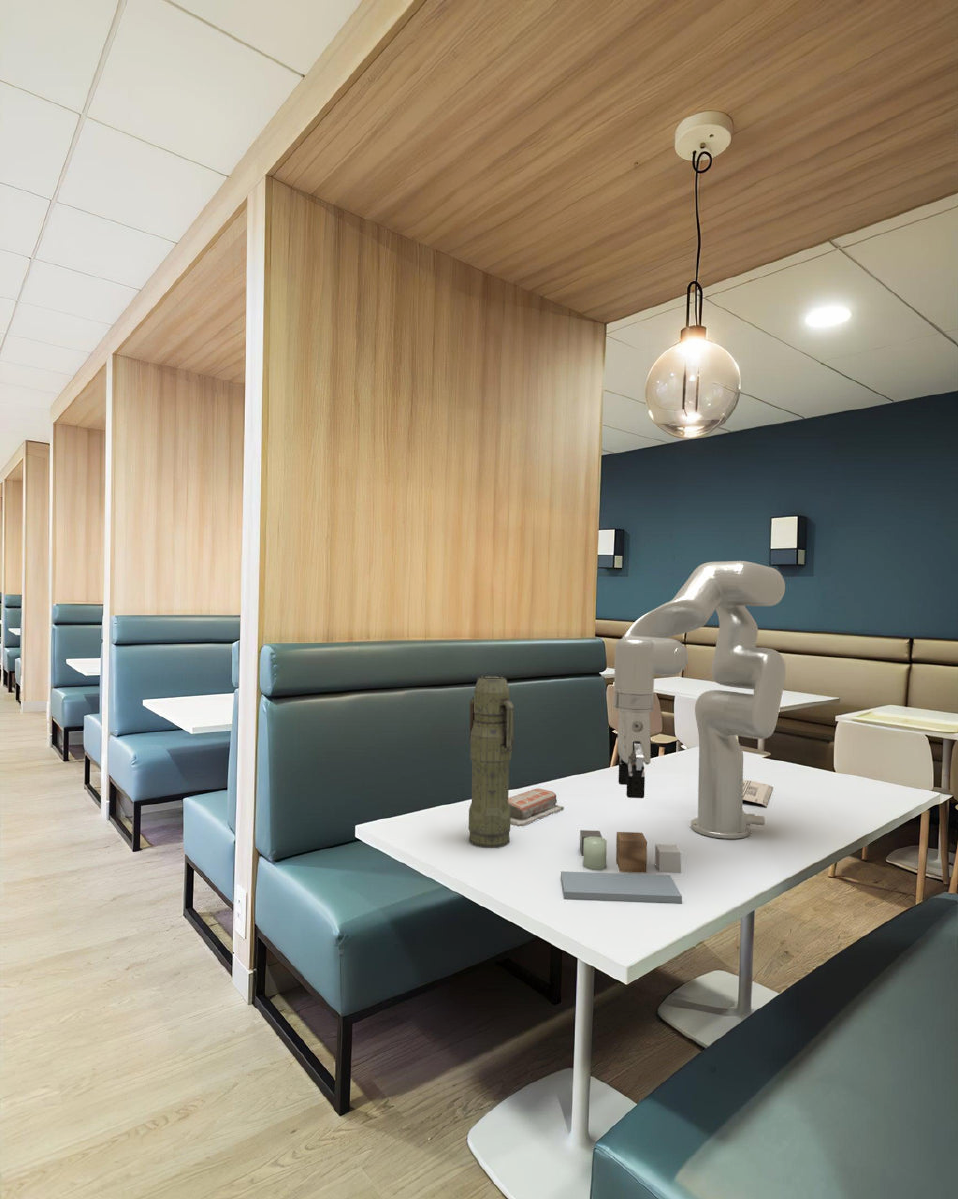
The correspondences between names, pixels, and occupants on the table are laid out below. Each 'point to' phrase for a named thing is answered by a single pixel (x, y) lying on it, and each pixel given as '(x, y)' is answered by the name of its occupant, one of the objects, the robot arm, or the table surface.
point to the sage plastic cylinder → (594, 853)
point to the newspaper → (756, 792)
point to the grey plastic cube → (668, 858)
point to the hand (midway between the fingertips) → (630, 790)
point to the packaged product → (532, 806)
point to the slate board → (620, 887)
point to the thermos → (490, 762)
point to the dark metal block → (587, 834)
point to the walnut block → (631, 852)
